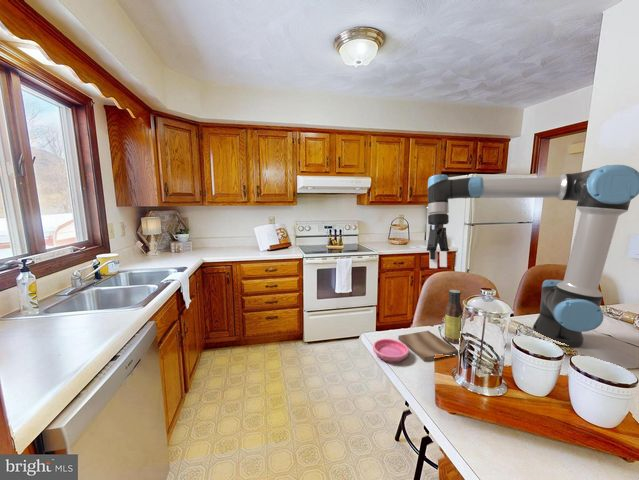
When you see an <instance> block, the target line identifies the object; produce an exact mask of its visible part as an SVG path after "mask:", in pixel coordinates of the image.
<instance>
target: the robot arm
mask: <svg viewBox="0 0 639 480" xmlns="http://www.w3.org/2000/svg"><path fill="white" fill-rule="evenodd" d="M638 195H639V171H638V170H637V169H635V168H634V167H631V166H629V165H625V164H609V165H608V164H607V165H604V166H600V167H598V168H593V169H589V170H585V171H580V172H572V173H563V174H561V175H559V176H550V177H549V176H548V177H545V176H544V177H543V176H542V177H524V178H523V177H521V178H491V179H485V178H483V176H470V177H464V178H463V177H462V178H455V179H449V176H448V175H447V174H435V175H431V176H430V177H429V178H428V180H427V205H428V206H427V207H426V209H427V214H428V215H427V223H428V225H429V234H428V240H427V246H426V251H427V252H429V253H428V254H429V256H428V257H429V259H428V260H429V261H428V262H429V267H428V268H429V269H438V250H437V248H438V246H439V250H440V251H439V267H440V268H448V252H450V248H449V244H448V243H449V242H448V235H447V228H446V227H444V225H448V224H449V221H450V219H449V217H450V216H449V207H450V206H449V200H452V199H469V198H470V199H483V198H484V199H487V198H488V199H489V198H490V199H491V198H492V199H495V198H497V199H498V198H501V199H502V198H503V199H504V198H505V199H506V198H507V199H509V198H510V199H513V198H516V199H517V198H521V199H523V198H534V199H535V198H538V199H539V198H541V199H542V198H557V200H559V201H574V202H577V203H576V209H577V210H578V211H579V212H580V215H579V219H578V223H577V226H576V231H575V236H574V238H573V242H572V246H571V250H570V254H569V258H568V263H567V266H566V269H565V273H564V277H563V280H561V279H545V280H544V281H542V284H541V285H542V286H541V296H540V297H541V298H540V306H539V314H538V317H537V318H536V321H535V322H534V324H533V325H532V330H534V331H536V332H538V333H540V334H542V335H544V336H546V337H549V338H551V339H553V340H556V341H559V342H561V343H565V344H567V345H569V346H571V347H570V348H579V347H582V346H583V344H584V336H583V333H584V332H585V333H586V332H589V331H593V330H596V329H597V328H599V327H600V326H601V325H602V323H603V322H604V313H603V310H602V309H601V303H602V300H603V296H604V294H603V293H602V292H601V291H600V289H599V286H600V284H601V283H600V282H601V279H602V275H603V273H604V269H605V265H606V261H607V259H608V255H609V251H610V248H611V244H612V240H613V237H614V233H615V230H616V226H617V223H618V220H619V216H621V215H623V214H625V213H627V212H628V211H629V207H630V204H631V200H633V199H635V198H636V197H637V196H638Z"/></svg>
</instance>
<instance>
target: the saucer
mask: <svg viewBox="0 0 639 480" xmlns="http://www.w3.org/2000/svg"><path fill="white" fill-rule="evenodd" d="M372 350H373V351H374V353H375V355H377V356H378V358H380V360H383V361H385V362H389V363H399V362H402V361H403V360H404V359H406V358H407V357H408V356H409V354H410V349H409V348H408V347H407V346H406V345H405V344H404V343H402V342H401V341H400V340H398V339H393V338H382V339H379V340H376V341H374V342H373V345H372Z"/></svg>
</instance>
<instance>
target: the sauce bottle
mask: <svg viewBox="0 0 639 480" xmlns="http://www.w3.org/2000/svg"><path fill="white" fill-rule="evenodd" d="M461 295H462V293H461V291H460V290H458V289H450V290H448V297H449V299H448V302H447V304H446V306H445V313H444V339H445V340H446V341H447V343H451V344H460V343H459V338H460V331H461V318H462V312H463V313H464V311H463V308H462V307H463V306H462V305H461Z"/></svg>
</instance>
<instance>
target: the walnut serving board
mask: <svg viewBox="0 0 639 480" xmlns="http://www.w3.org/2000/svg"><path fill="white" fill-rule="evenodd" d="M397 340H398V341H400V342H402V343H404V344H405V345H406V346H407V347H408V349H409V351H412V352H413V353H414V354H415V355H416V356H417V357H418V358H420V359H421V360H422V362H423V361H424V362H428V361H434V360H435V359H434V357H435V354H443V355H453V354H459V350H458V349H457V348H455V347H453V346H452V345H451V344H449V343H448V342H446V341H445V340H443V339H442V338H440V337H439V336H437V335H435V334H434V333H432V332H431V331H430V330H424V331H418V332H413V333H405V334H400V335H398V338H397ZM453 356H454V355H453Z"/></svg>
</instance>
